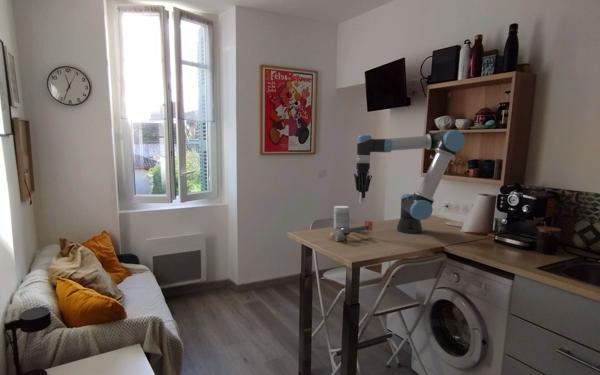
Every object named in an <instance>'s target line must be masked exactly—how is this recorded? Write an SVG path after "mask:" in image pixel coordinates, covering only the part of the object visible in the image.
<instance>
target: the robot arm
mask: <svg viewBox="0 0 600 375" xmlns="http://www.w3.org/2000/svg"><path fill="white" fill-rule="evenodd" d="M465 143H466V139H465V136H464V134H463V133H462V132H461V131H459V130H456V129H449V130H441V131H438V132H432V133H427V134H426V135H418V136H406V137H405V136H404V137H391V138H372V136H371V135H370V134H360V135H358V136H357V142H356V145H357V146H356V173H354V174H353V177H354V182H355V189H356V191H357V192H358V199H359V201H358V203H359V204H363V205H364V204H365V199H366V193H367V192H369V189H370V184H371V181H372V178H373V175H371V174H370V170H371V163H370V162H371V153H385V154H386V153H391V152H393V151H407V150H408V151H409V150H421V149H423V150H424V149H426V150H428V151H430V150H431V151H432V150H433V151H435V155H434V156H433V159H432V161H431V163H430V166H429V167H428V169H427V172H426V174H425V175H424V177H423V181H422V182H421V185H420V187H419V189H418V191H415V192H414V193H412V194H411V193H410V194H409V193H408V194H407V193H403V194H402V195H401V197H400V218H399V220H398V224H397V225H396V231H398V232H401V233H406V234H421V233H423V226H422V221H423V220H427V219H428V218H430V217H431V216H432V213H433V212H434V211H433V210H434V209H433V204H434V202H435V200H434V196H435V193H436V191H437V189H438V187H439V185H440V183H441V181H442V179H443V176H444V174H445V172H446V170H447V169H448V165H449V164H450V161H451V159H453V158H456V156H457V153H458V152H459V151H461V150H462V148H464V146H465Z"/></svg>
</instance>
